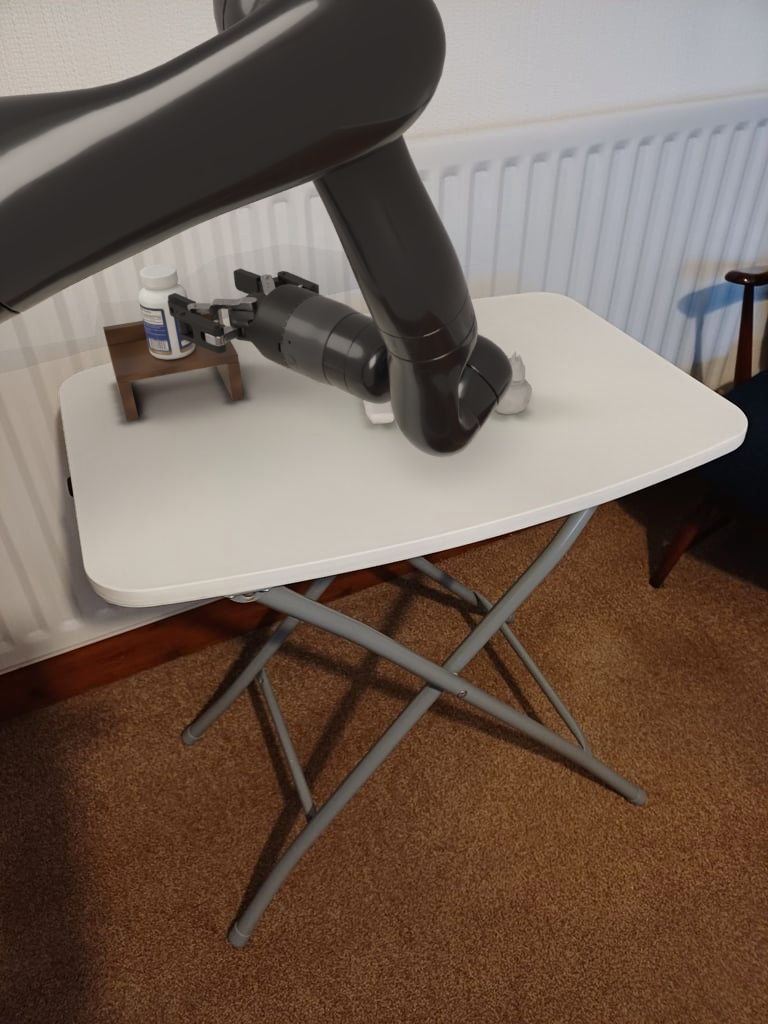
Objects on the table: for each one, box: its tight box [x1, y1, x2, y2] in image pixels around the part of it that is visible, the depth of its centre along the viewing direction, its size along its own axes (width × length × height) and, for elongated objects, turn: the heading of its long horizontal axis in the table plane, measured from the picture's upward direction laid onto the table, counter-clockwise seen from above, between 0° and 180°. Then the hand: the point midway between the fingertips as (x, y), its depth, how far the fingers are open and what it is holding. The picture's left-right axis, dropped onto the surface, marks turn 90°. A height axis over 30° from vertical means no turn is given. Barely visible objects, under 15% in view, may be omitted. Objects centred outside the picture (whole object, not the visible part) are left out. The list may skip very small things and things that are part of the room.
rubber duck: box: [494, 350, 533, 415], centre depth 91 cm, size 5×7×8 cm
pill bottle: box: [137, 263, 195, 360], centre depth 90 cm, size 5×5×10 cm
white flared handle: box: [362, 399, 395, 425], centre depth 94 cm, size 6×18×4 cm, turn 5°
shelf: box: [102, 313, 245, 422], centre depth 94 cm, size 14×9×8 cm, turn 112°
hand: (205, 290), depth 82 cm, fingers open, 8 cm apart
